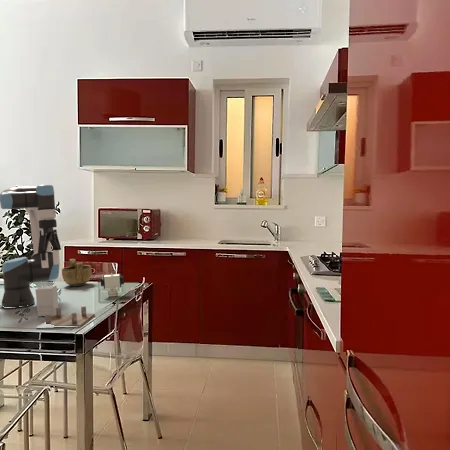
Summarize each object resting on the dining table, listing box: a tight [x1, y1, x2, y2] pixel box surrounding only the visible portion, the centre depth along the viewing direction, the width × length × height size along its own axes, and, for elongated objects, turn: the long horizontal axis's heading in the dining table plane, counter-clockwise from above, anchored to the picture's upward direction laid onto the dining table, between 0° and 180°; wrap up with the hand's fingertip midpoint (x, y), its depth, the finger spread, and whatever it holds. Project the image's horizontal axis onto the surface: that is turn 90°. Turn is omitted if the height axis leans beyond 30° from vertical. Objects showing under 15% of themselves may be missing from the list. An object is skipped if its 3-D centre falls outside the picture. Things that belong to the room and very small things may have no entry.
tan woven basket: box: [61, 258, 93, 287], centre depth 286 cm, size 22×17×15 cm
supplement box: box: [35, 285, 59, 317], centre depth 215 cm, size 7×7×13 cm
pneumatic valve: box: [99, 272, 125, 298], centre depth 250 cm, size 6×12×12 cm, turn 103°
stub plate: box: [43, 305, 96, 327], centre depth 200 cm, size 18×18×5 cm
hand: (51, 266), depth 216 cm, fingers open, 13 cm apart
